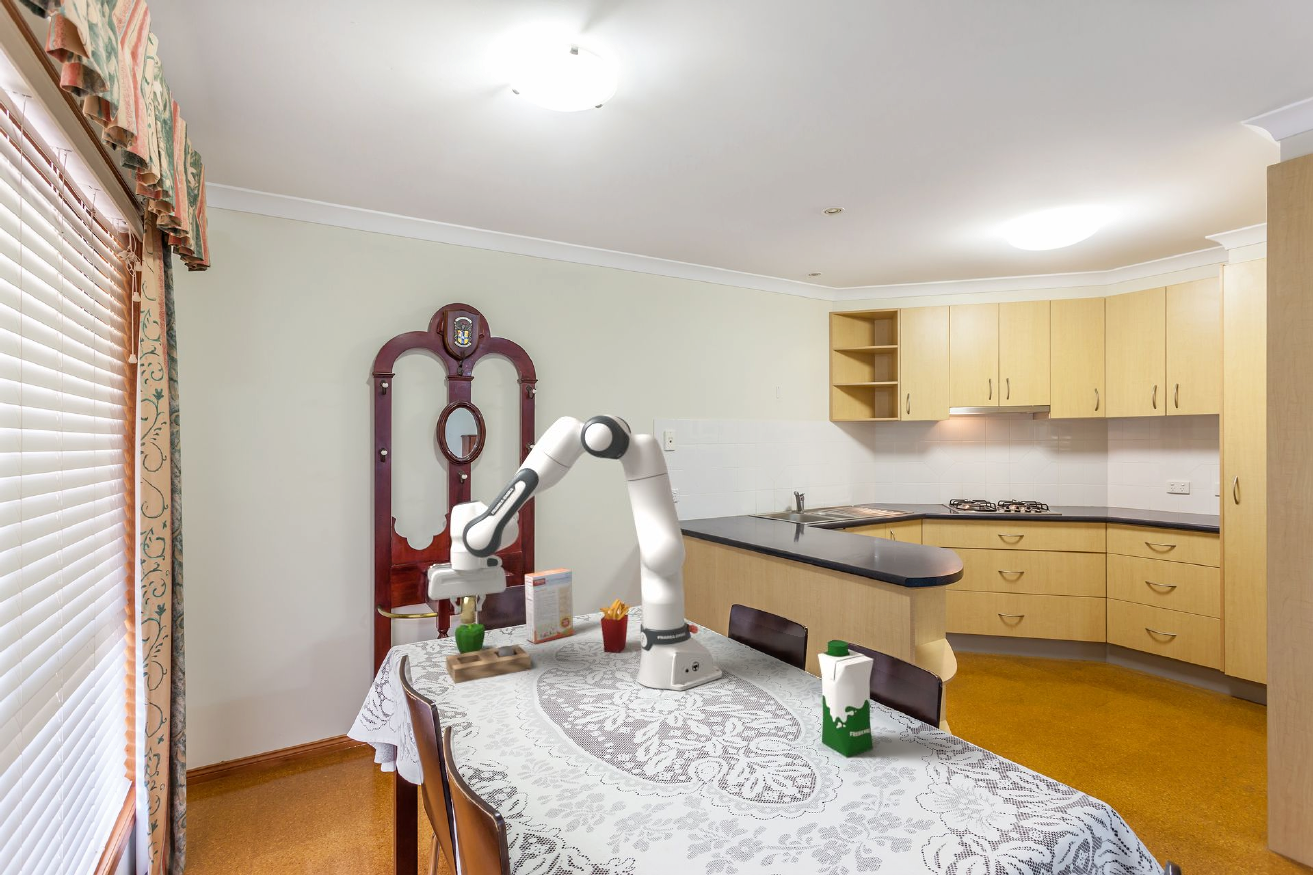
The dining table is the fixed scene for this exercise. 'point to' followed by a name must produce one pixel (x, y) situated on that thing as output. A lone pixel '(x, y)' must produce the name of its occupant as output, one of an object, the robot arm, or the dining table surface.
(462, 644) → the bell pepper
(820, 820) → the dining table surface
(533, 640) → the cracker box
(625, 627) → the french fries
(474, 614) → the bushing
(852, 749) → the milk carton
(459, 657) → the jig
